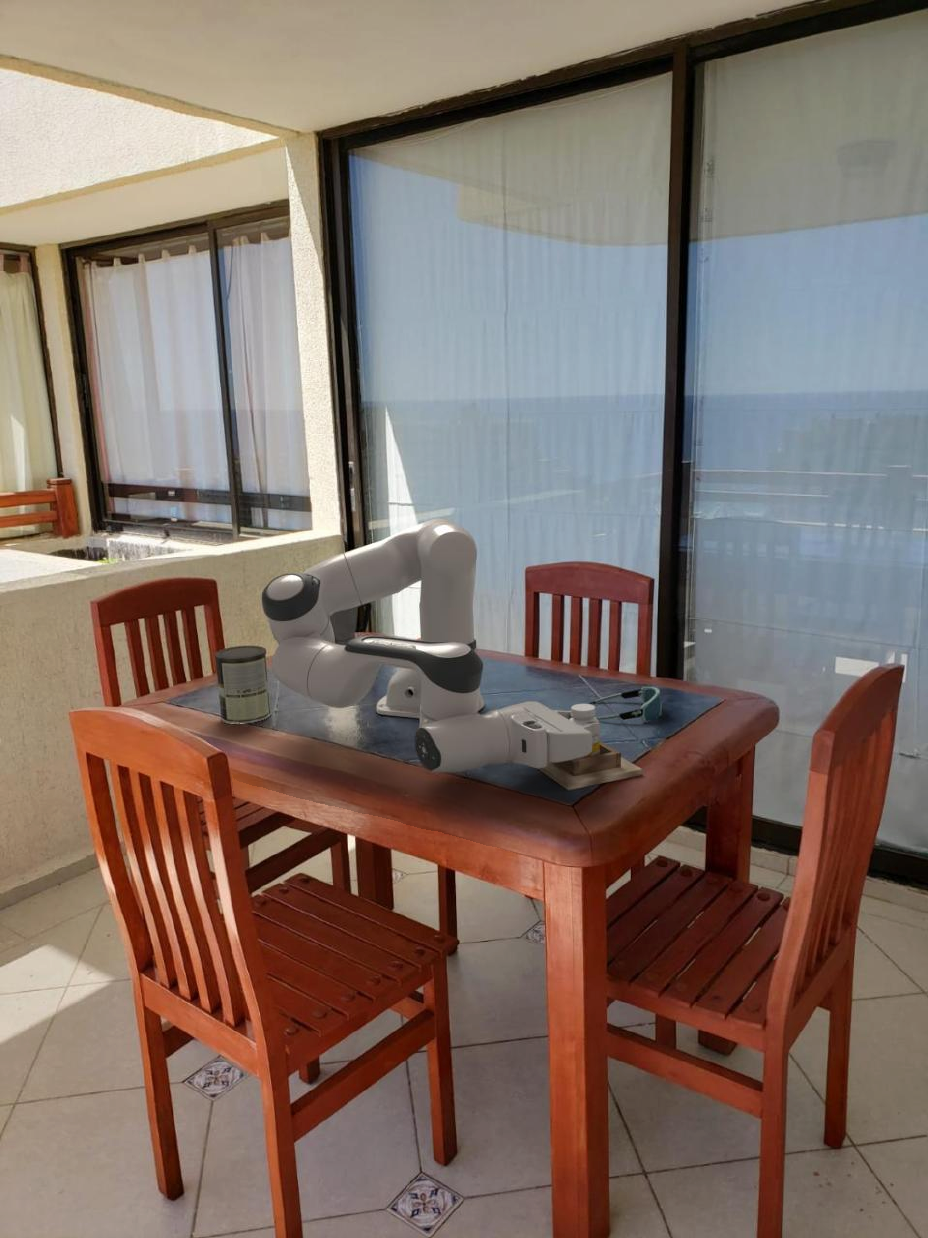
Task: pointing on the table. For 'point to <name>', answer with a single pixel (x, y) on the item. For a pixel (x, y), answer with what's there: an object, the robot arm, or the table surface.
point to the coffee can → (243, 684)
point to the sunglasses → (650, 704)
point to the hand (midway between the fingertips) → (588, 721)
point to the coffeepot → (348, 623)
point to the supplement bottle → (581, 717)
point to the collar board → (591, 769)
